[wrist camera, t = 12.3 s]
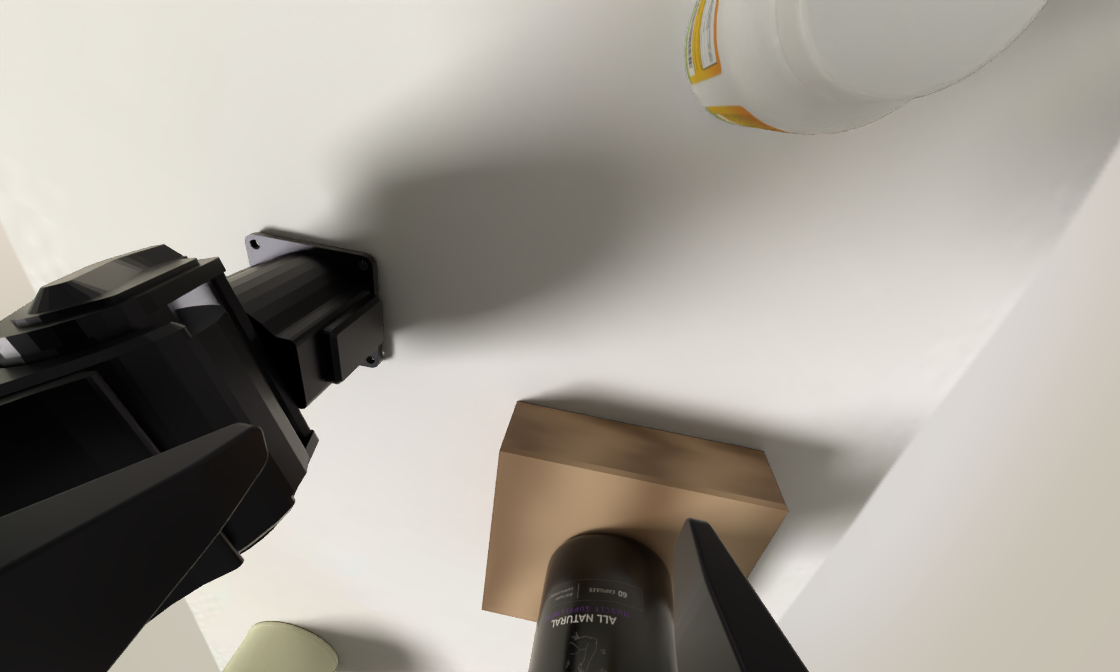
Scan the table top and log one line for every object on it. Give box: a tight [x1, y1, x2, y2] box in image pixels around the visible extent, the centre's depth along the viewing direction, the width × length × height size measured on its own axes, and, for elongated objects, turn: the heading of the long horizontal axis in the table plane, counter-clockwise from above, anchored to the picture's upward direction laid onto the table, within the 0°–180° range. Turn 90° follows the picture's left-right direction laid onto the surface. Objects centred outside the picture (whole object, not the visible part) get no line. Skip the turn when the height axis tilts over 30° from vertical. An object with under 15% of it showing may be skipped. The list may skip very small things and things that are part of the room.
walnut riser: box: [482, 401, 789, 622], centre depth 25 cm, size 14×14×4 cm
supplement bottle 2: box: [685, 0, 1048, 135], centre depth 11 cm, size 5×5×10 cm
